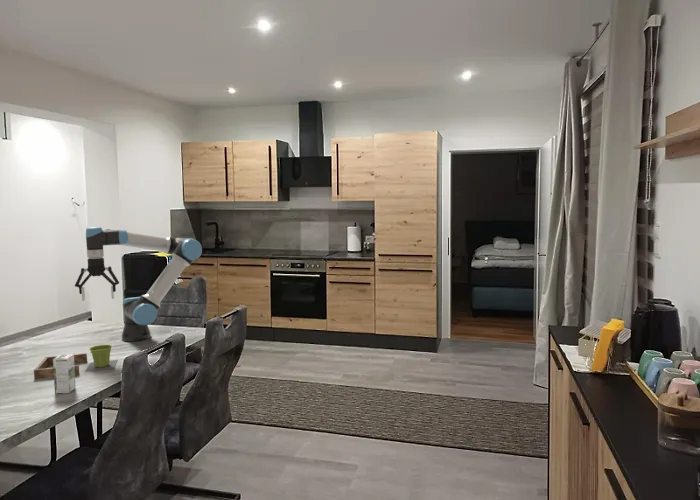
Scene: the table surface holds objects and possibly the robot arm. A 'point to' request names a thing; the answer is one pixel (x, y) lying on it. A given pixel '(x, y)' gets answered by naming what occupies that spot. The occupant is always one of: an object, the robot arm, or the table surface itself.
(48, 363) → the walnut bay
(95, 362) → the plant pot
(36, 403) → the table surface
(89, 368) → the charcoal mat
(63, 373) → the syrup box
